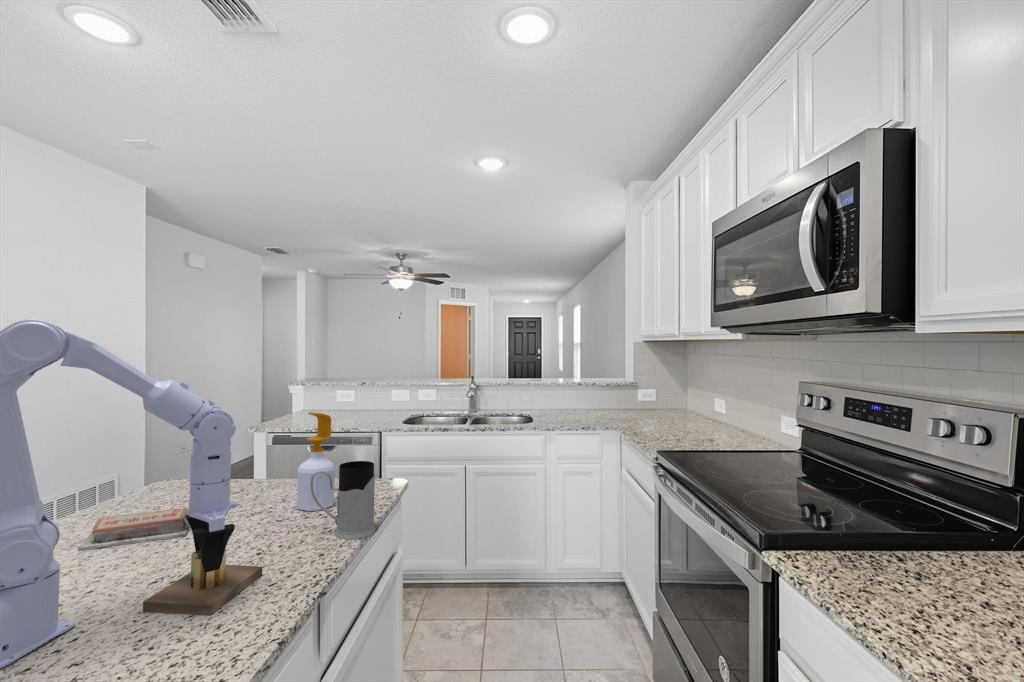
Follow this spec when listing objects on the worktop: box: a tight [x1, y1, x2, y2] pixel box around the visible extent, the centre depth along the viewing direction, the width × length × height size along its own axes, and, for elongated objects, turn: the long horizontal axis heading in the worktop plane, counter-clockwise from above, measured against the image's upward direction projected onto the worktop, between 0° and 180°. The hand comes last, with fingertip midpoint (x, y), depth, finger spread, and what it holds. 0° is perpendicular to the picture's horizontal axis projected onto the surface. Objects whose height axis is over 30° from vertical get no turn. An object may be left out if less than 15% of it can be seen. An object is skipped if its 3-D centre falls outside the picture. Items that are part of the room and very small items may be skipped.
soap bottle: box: [296, 412, 336, 512], centre depth 122 cm, size 9×9×25 cm
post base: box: [142, 564, 263, 616], centre depth 78 cm, size 13×11×5 cm
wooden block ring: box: [190, 548, 227, 590], centre depth 78 cm, size 5×5×5 cm
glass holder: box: [311, 460, 377, 540], centre depth 105 cm, size 9×14×15 cm, turn 99°
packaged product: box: [77, 507, 191, 552], centre depth 101 cm, size 18×5×10 cm
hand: (208, 562), depth 78 cm, fingers open, 7 cm apart
